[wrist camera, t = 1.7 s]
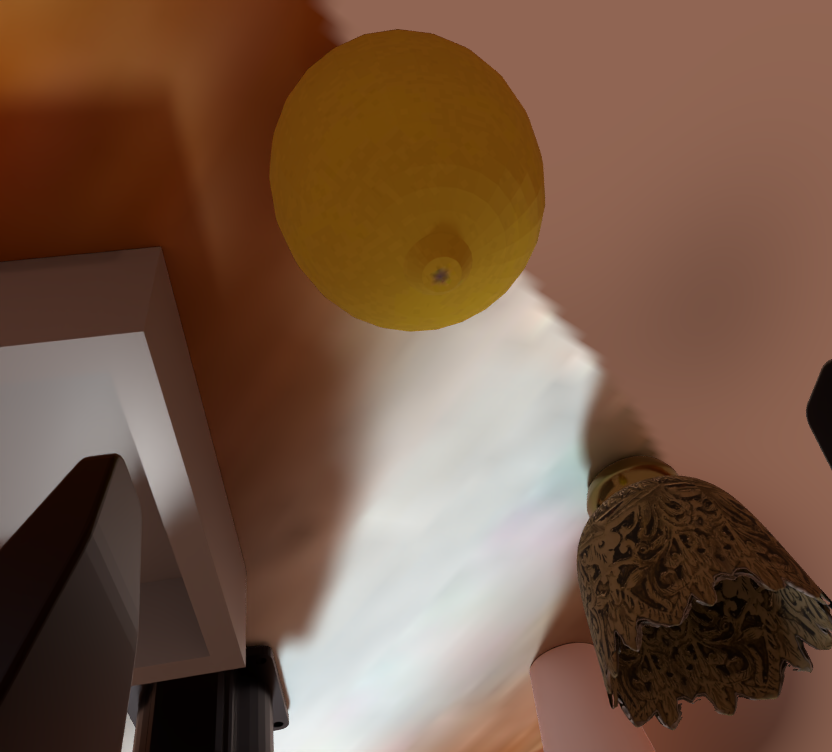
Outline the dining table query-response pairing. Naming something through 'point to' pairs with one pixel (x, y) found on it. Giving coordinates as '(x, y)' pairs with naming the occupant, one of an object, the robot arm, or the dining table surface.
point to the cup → (689, 595)
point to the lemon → (407, 180)
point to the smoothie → (580, 705)
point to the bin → (123, 440)
